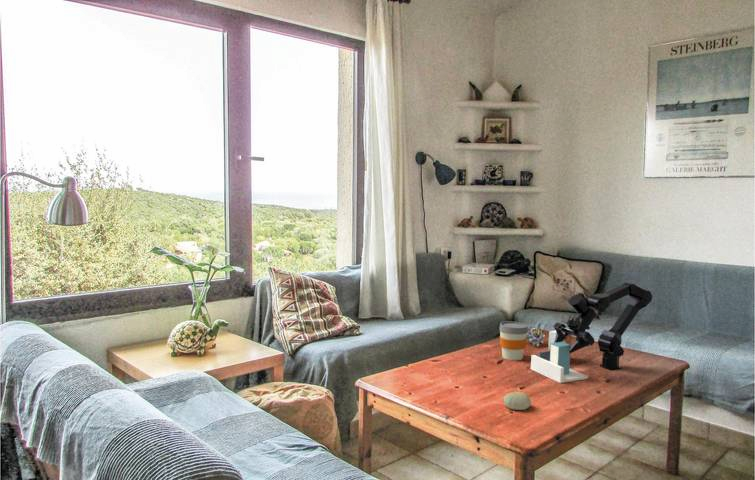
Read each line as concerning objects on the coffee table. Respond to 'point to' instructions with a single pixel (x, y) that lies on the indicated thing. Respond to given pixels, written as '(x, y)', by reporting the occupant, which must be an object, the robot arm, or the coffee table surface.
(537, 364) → the shelf
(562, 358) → the teal rectangular block
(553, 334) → the small box
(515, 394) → the sea urchin shell
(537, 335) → the passion flower
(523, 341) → the reusable coffee cup
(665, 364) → the coffee table surface
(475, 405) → the coffee table surface
